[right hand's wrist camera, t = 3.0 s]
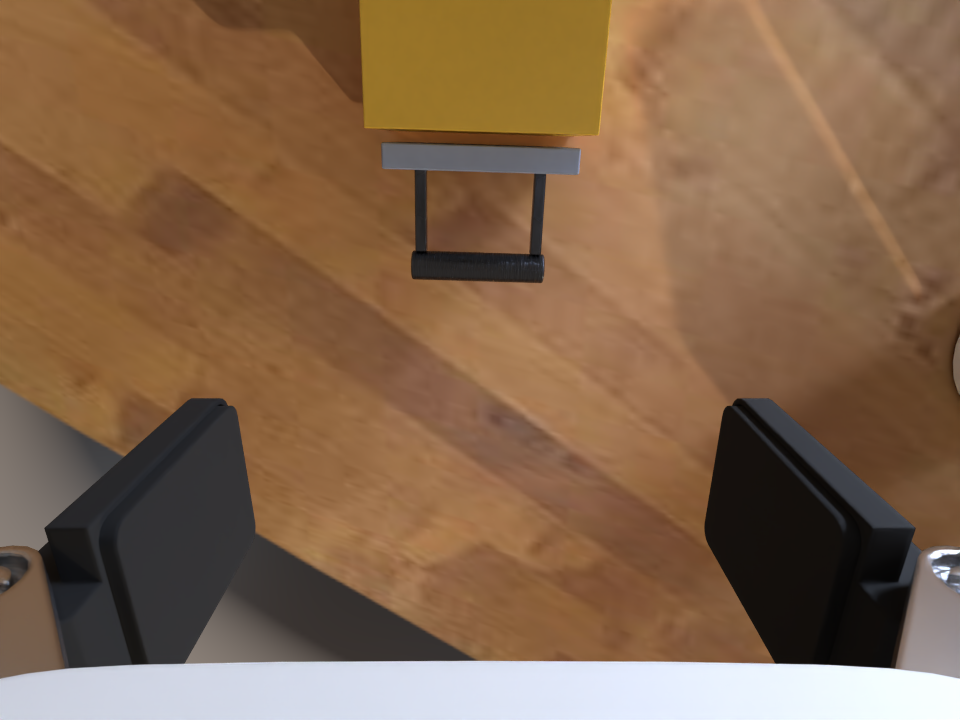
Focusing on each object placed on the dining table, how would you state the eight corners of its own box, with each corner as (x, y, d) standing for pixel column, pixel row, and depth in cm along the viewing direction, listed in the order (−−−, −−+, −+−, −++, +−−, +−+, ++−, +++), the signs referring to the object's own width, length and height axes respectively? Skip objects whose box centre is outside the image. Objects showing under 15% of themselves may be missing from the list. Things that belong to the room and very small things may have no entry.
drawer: (553, 269, 36) (568, 295, 30) (402, 264, 36) (385, 290, 30) (591, -233, 28) (623, -341, 21) (392, -240, 28) (366, -351, 21)
